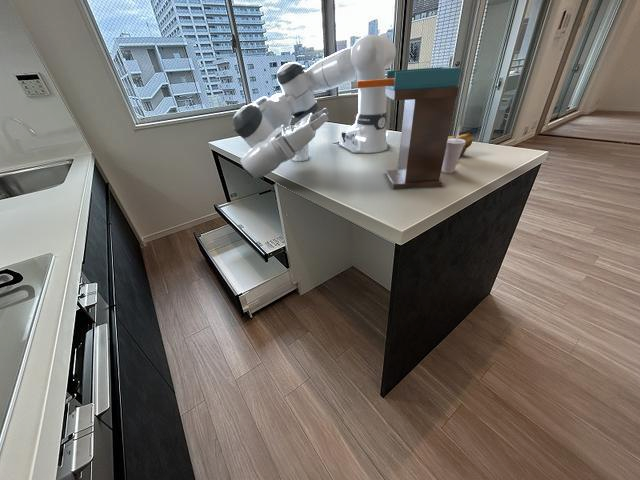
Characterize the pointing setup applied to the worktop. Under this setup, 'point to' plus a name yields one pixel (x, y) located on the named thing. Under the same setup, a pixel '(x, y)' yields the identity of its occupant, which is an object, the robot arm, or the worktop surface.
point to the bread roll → (467, 138)
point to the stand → (422, 136)
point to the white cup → (302, 154)
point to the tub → (424, 78)
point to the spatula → (375, 83)
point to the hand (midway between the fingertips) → (327, 112)
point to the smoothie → (452, 153)
